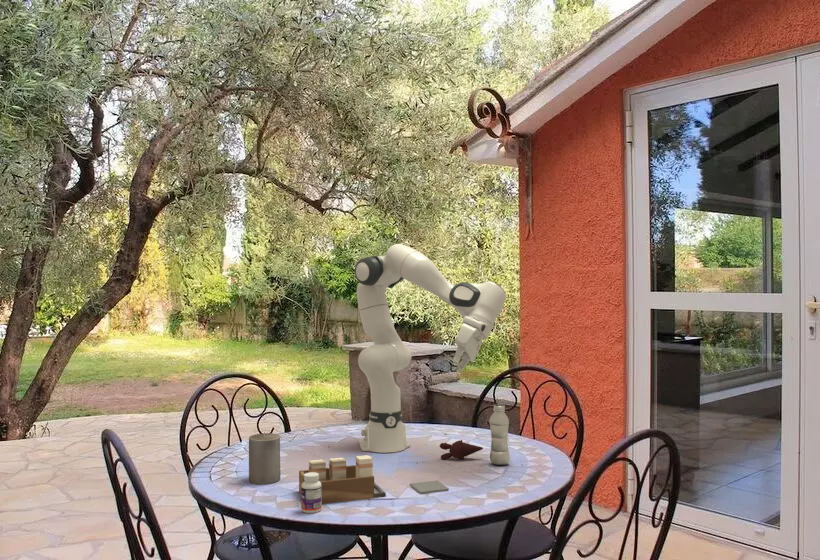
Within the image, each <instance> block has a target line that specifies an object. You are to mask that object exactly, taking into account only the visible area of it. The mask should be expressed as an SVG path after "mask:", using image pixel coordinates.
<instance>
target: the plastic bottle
mask: <svg viewBox="0 0 820 560" xmlns="http://www.w3.org/2000/svg"><path fill="white" fill-rule="evenodd" d="M505 408H506V406H505V404H498V403H497V404H493V410H492V411H494V412H493V413H492V414H491V415H490V418H489V420H488V422H489V426H490V427H489V428H490V435H491V441H490V443H491V444H490V452H489V459H490V462H491V463H492V464H493V465H498V466H504V465H508V464H509V463H510V457H511V456H510V455H511V454H510V451H509V443H508V441H509V439H508V436H509V427H510V426H509V424H510V420H509V417H508V416H507V414H506V413H505V411H506V409H505Z"/></svg>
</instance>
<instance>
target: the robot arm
mask: <svg viewBox="0 0 820 560" xmlns="http://www.w3.org/2000/svg"><path fill="white" fill-rule="evenodd" d="M354 276H355V279H356V280H357V282H358V285H357V286H356V301H357V307H358V311H359V316H360V320H361V324H362V328H363V331H364V333H365V334H366V335H367V336H368V337H369V338H370V339H371V340H372V342H373V345H369V346H368V347H366V348H364V349H362V350H361V351H360V353H359V355H358V359H357V360H358V361H357V362H358V367H359V369H360V370H361V371H362V372H363V373H364V374H365V376H366V378H367V382H368V385H369V391H370V411H369V414H368V416H369V418H368V419H369V421H368V422H367V424H366V425H365V427H364V429H362V430H360V431H361V434H360V436H361V437H363V438H360V439H358V444H359V447H360V450H361V451H362V452H372V453H380V454H381V453H387V454H388V453H396V452H397V453H398V452H401V451H404V450H406V449H407V448H410V447H411V443H410V442H407V427H406V424H405V423H404V422H402V420H403V410H402V409H401V408H402V406H401V405H402V403H401V391H402V390H401V388H400V387H399V386H398V385H397V383H396V381H395V378H394V372H399V371H401V370H403V369H405V368H407V367H408V366H409V365H410V363H411V362H412V351H411V349H410V348H409V346H408V345H406V343H404V342H403V340H402V339H401V337H400V336H399V334H398V332H397V330H396V329H395V325H394V323H393V319H392V316H391V313H390V308H389V304H388V301H387V297H386V290H387V289H388V288H389V289H392V288H395V286H396V285H398V284H399V283H401V282H402V281H403V280H405V281H407V282H408V283H409V282H410V283H411V284H413V285H415V286H416V287H419V288H421V289H423V290H425V291H427V292H429V293H430V294H433V295H435V296H436V297H438V298H439V299H441V300H442V301H444V302H445V303H447V304H448V305H450V306H451V307H453V308H454V309H455V310H456V311H457V312H458V314H459V315H460V316H461V318H462V324H461V327H460V328H459V330H458V333H457V336H456V338H455V344H456V346H457V348H456V349H455V350H456V351H455V353H454V355H453V358H452V361H453V362H454V363H456V364H458V365H457V368H458V370H460V371H464V369H465V367H466V365H468V364H469V362H472V363H473V362H474V361H475V360H476V358H477V355H478V354H479V352H480V349H481V347H482V340H487V339H488V337H489V335H490V333H491V331H492V329H493V327H494V325H495V321H496V319H497V317H499V315H500V314H501V312H502V309H503V307H504V305H505V302H506V298H507V294H506V291H505V290H504V288H502V286H501V285H500V284H498V283H496V282H494V281H490V280H488V281H486V282H482V283H473V282H472V283H469V282H466V281H462V282H459V283H457V284H454V285H453V284H452V283H450V282H449V281H448V280H447V279H446V277H444V275H443V273H442V272H440V270H439V269H438V267H437V266H436V265H435V263H434V262H433V261H432V260H431V259H430V258H429V257H427V255H425V254H423V253H422V252H420V251H418V250H417V249H415V248H413V247H410V246H409V245H405V244H402V243H395V244H393V245H391V246H390V247H389V248H388V249H387V251H386V253H385V255H373V256H372V255H371V256H367V257H363V258H360V259H359V260H358V261H357V262H356V264H355V266H354Z"/></svg>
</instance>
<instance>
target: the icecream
mask: <svg viewBox="0 0 820 560" xmlns="http://www.w3.org/2000/svg"><path fill="white" fill-rule="evenodd" d="M439 448H440V449H442V450H446V451H447V450H448V452H445V453H443V454H441V455H440V459H441V460H448V459H451V458H454V459H456V460H460V461H461V460H463V461H464V460H466V459H465V458H466V457H469V456H471V455H472V454H475V453H478V452H480V451H483V449H484V447H482V446H478V445H475V444H471V443H466V442H463V439H461V440H459V439H458V440H456V441H455V442H453V443H452V444H450V443H447V442H441V443H440V444H439Z"/></svg>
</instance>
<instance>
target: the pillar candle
mask: <svg viewBox="0 0 820 560" xmlns="http://www.w3.org/2000/svg"><path fill="white" fill-rule="evenodd" d="M280 480H281V435H279V434H278V433H269V432H267V433H266V432H263V433H257V434H252V435H250V436H249V437H248V482H249V483H250V484H253V485H262V486H263V485H270V484H273V483H277V482H279V481H280Z"/></svg>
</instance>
